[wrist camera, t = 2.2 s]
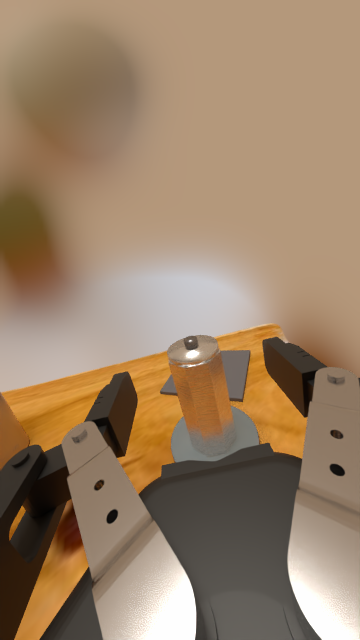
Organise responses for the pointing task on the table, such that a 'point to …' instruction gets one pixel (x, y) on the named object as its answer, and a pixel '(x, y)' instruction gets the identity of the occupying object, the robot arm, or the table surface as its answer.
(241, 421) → the grey pot lid
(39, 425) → the table surface
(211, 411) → the steel canister
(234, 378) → the rubber mat
